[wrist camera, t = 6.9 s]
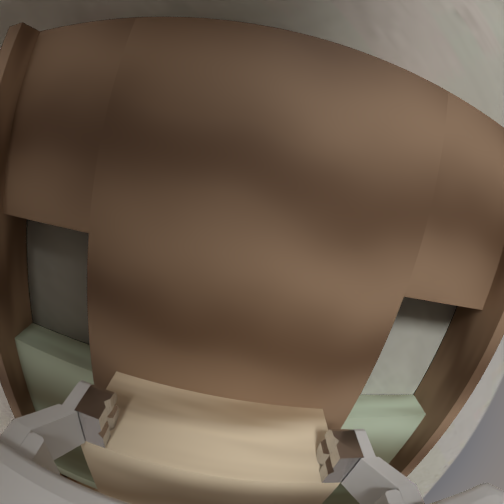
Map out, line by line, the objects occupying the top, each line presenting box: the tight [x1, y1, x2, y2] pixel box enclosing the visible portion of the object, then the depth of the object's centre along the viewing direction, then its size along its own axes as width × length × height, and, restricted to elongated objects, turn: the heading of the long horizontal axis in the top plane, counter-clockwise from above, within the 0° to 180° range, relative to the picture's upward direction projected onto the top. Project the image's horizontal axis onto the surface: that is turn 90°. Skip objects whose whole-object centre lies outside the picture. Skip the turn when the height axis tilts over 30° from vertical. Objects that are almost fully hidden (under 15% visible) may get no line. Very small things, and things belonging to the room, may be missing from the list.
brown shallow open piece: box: [0, 17, 504, 504], centre depth 11 cm, size 24×26×5 cm
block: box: [81, 371, 341, 504], centre depth 11 cm, size 6×10×4 cm, turn 78°
